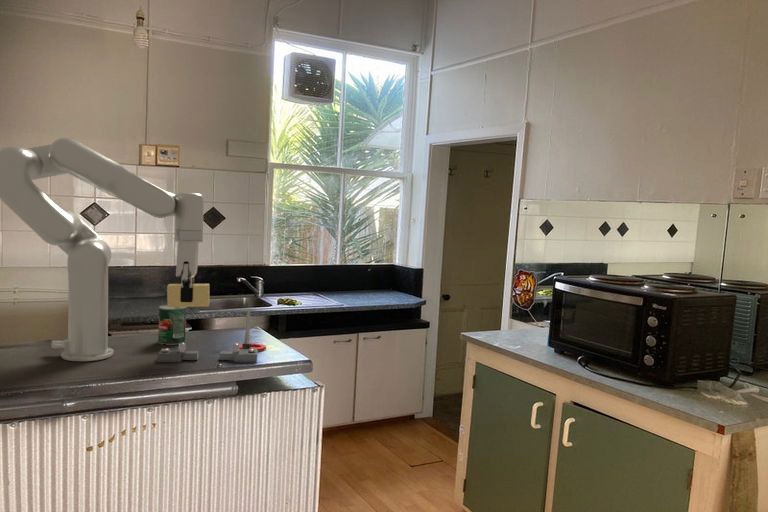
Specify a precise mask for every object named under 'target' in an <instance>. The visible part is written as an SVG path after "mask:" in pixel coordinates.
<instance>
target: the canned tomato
mask: <svg viewBox="0 0 768 512" xmlns="http://www.w3.org/2000/svg"><path fill="white" fill-rule="evenodd" d="M186 318H187V307H167V304H163V305H159V306H158V331H157V332H158V337H157V339H158V341H157V342H158V344H159V345H163V344H166V345H165V346H176V345H177V344H178V345H179V343H184V342H185V343H186V332H187V331H186V330H187V329H186V327H187V319H186Z"/></svg>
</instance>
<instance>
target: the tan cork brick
mask: <svg viewBox="0 0 768 512" xmlns="http://www.w3.org/2000/svg"><path fill="white" fill-rule="evenodd" d="M192 288H193V301H192V302H181V301H180V296H181V283H168V284H167V287H166V292H167V297H166V300H167V304H166V305H167V307H186V308H197V307H198V308H200V307H201V308H202V307H203V308H204V307H205V308H206V307H207V308H208V307H209V306H210V300H211V299H210V298H211V297H210V296H211V295H210V283H194V284H192Z"/></svg>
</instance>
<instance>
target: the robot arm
mask: <svg viewBox="0 0 768 512" xmlns="http://www.w3.org/2000/svg"><path fill="white" fill-rule="evenodd" d="M66 174H69V176H70V175H71V176H72V177H74V178H77V179H79V180H80V181H83V182H84V183H86V184H87V185H89V186H92V187H94V188H96V189H97V190H100V191H102V192H103V193H105V194H107V195H109V196H112V197H115V198H117V199H119V200H121V201H123V202H125V203H126V204H128V205H131V206H133V207H134V208H137V209H138V210H140V211H142V212H144V213H146V214H148V215H150V216H152V217H154V218H156V219H157V218H158V219H164V218H168V217H174V218H175V219H174V242H177V250H176V265H175V266H176V268H175V276H176V277H177V278H180V277H181V283H180V284H181V296H180V301H181V302H192V301H193V288H192V284H195V277H196V275H197V274H198V264H199V243H203V240H204V238H203V237H204V208H205V207H204V205H205V204H204V203H205V202H204V201H205V200H204V199H205V198H204V195H202V194H201V193H198V192H178V193H177V192H171V191H166V190H165V189H162V188H160V187H159V186H157V185H155V184H153V183H151V182H149V181H148V180H146V179H143V178H142V177H140V176H138V175H136V174H135V173H133V172H132V171H130V170H129V169H128V168H126V167H125V166H124V165H122V164H120V163H119V162H116V161H115V160H113V159H111V158H108V157H107V156H105V155H103V154H101V153H99V151H96V150H95V149H92V148H90V147H88V146H87V145H85V144H83V143H81V142H80V141H78V140H76V139H73V138H69V137H60V138H58V139H56V140H54V141H53V142H51V144H46V145H40V146H34V147H28V148H27V147H23V146H18V145H9V146H6V147H3V148H0V200H1V201H2V202H3V203H4V204H5V205H6V206H7V207H8V208H9V210H11V211H12V212H14V213H15V215H16V216H17V217H18V218H19V219H20V220H22V221H23V223H24V224H26V225H27V226H28V227H29V228H30V229H31V230H33V231H34V233H36V235H38V236H39V237H40V239H41V240H42V241H44V242H45V243H46V244H48V245H51V246H57V247H58V248H60V250H61V251H63V252H64V253H65V254H66V255H67V266H66V267H67V277H68V278H67V281H68V293H67V294H68V321H67V323H68V326H67V327H68V328H67V329H68V331H67V336H68V337H67V339H65V340H52V341H51V343H50V346H51V348H53V350H61V349H62V350H63V351H62V352H61V354H60V355H61V359H63V360H65V361H69V362H70V361H71V362H94V361H100V360H101V361H102V360H104V359H105V360H106V359H108V358H111V357H112V356H113V355H114V349H113V348H111V347H108V337H109V336H108V332H109V330H108V329H109V327H108V326H109V264H110V262H111V259H112V250H111V247H110V245H109V244H108V243H107V242H106V241H105V240H104V239H103V238H102V237H101V236H100V235H99V234H98V233H97V232H95V231H94V230H93V228H91V227H90V226H89V225H88V224H87V223H86V222H85V221H84V220H83V219H82V218H80V216H78V215H77V214H75V213H74V212H73V211H70V210H68V209H65V208H64V209H62V208H61V207H60V206H59V205H58V204H56V203H55V202H54V201H53V200H52V199H51V198H50V197H49V196H48V195H47V194H46V192H44V191H43V190H41V188H39V187H38V186H37V185H36V184H35V183H34V182H33V181H35V180H38V179H39V180H40V179H44V178H45V179H46V178H50V177H56V176H60V175H61V176H62V175H66Z"/></svg>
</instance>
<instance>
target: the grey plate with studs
mask: <svg viewBox="0 0 768 512" xmlns="http://www.w3.org/2000/svg"><path fill="white" fill-rule="evenodd" d="M186 346H187V344H186V342H185V343H179V344H178V348H169V347H168V348H167V347H162V348H161V349H160V350H159V351H158V353H157V363H182V360H197V359H198V360H199V354H200V352H199V350H187V349H186ZM239 348H240V343H239V342H235V343H234V342H233V343H232V350H220V353H219V361H220V360H230V361H229V362H231V361H232V362H234V363H257V362H258V352H257V350H258V349H239ZM198 360H197V361H198Z"/></svg>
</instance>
